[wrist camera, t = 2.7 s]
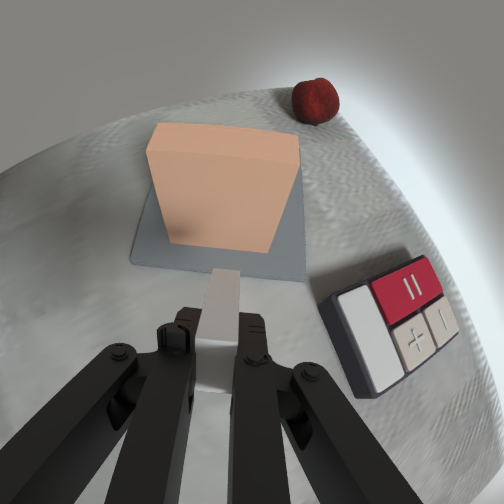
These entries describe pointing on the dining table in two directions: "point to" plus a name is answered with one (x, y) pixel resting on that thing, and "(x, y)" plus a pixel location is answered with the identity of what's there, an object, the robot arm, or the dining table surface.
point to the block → (222, 183)
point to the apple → (315, 101)
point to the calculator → (388, 326)
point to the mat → (206, 258)
